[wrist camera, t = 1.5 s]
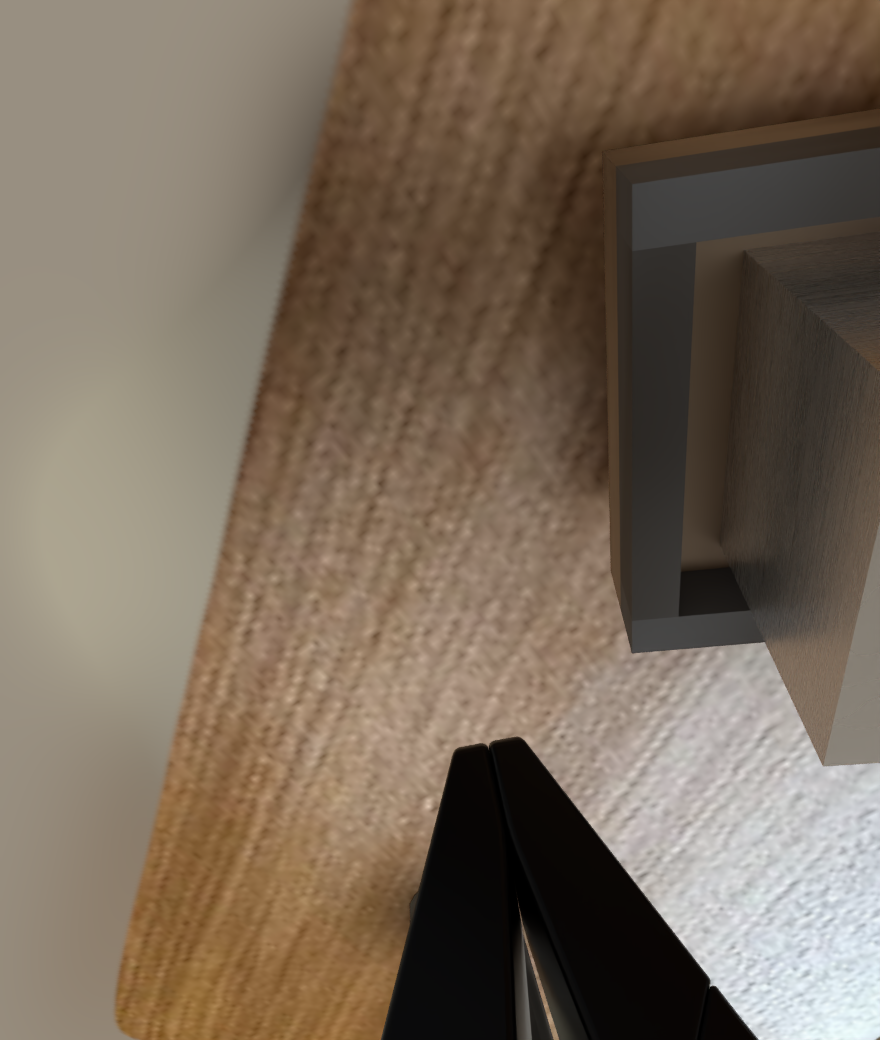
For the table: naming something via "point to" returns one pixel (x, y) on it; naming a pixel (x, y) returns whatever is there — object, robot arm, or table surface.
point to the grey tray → (701, 343)
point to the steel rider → (811, 480)
